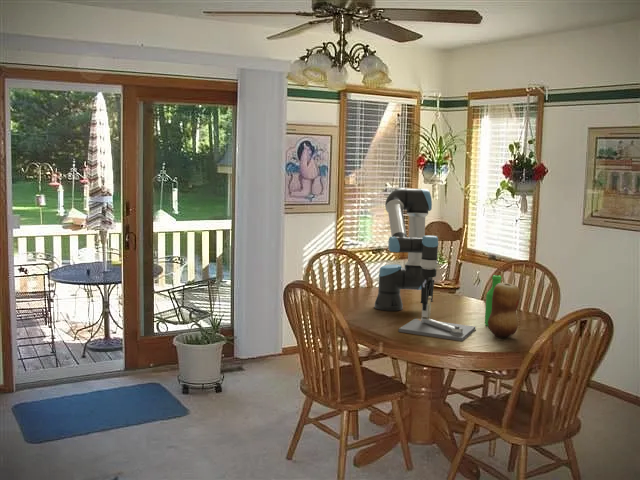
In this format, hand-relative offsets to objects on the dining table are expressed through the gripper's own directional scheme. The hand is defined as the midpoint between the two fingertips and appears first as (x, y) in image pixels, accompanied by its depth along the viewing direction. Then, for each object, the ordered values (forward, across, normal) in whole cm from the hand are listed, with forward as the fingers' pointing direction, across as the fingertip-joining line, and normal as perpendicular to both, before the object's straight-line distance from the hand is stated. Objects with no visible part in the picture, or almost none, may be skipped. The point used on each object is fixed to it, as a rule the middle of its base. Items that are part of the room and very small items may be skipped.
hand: (425, 315), depth 329 cm
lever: (+3, -6, -10) cm, 12 cm away
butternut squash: (+5, 0, -37) cm, 37 cm away
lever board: (+5, -5, -8) cm, 10 cm away
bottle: (+5, +20, -28) cm, 35 cm away
